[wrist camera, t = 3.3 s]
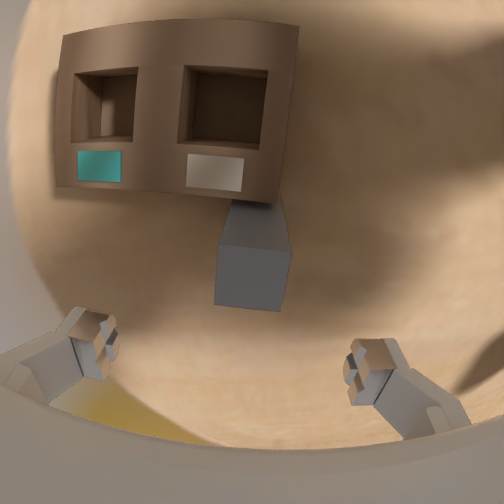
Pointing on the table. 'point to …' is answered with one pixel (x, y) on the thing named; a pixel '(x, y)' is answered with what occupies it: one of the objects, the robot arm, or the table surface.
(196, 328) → the table surface
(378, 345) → the robot arm
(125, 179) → the socket block
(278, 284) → the plug
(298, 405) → the table surface
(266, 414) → the table surface
